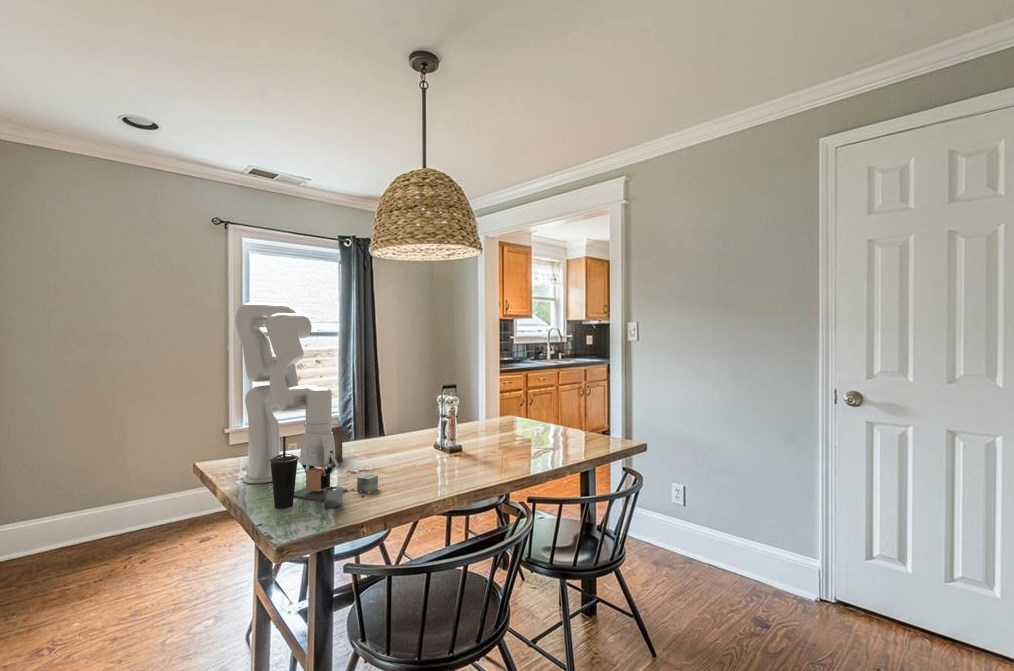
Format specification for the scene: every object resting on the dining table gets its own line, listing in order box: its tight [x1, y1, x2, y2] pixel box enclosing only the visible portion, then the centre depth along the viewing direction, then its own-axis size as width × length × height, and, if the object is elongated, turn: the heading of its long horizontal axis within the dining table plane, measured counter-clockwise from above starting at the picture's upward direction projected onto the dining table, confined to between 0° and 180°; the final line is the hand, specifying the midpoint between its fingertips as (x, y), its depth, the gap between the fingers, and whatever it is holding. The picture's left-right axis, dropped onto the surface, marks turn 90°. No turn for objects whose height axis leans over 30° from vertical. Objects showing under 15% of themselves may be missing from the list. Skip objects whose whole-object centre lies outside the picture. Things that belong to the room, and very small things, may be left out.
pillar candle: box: [331, 422, 344, 463], centre depth 188 cm, size 10×10×15 cm
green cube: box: [356, 473, 379, 493], centre depth 154 cm, size 4×4×4 cm
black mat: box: [294, 485, 348, 503], centre depth 150 cm, size 13×11×1 cm
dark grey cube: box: [323, 485, 344, 510], centre depth 139 cm, size 5×5×5 cm
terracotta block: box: [305, 466, 331, 492], centre depth 150 cm, size 5×5×6 cm
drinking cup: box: [269, 435, 300, 510], centre depth 139 cm, size 8×8×20 cm
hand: (318, 485), depth 150 cm, fingers closed on terracotta block, 4 cm apart
